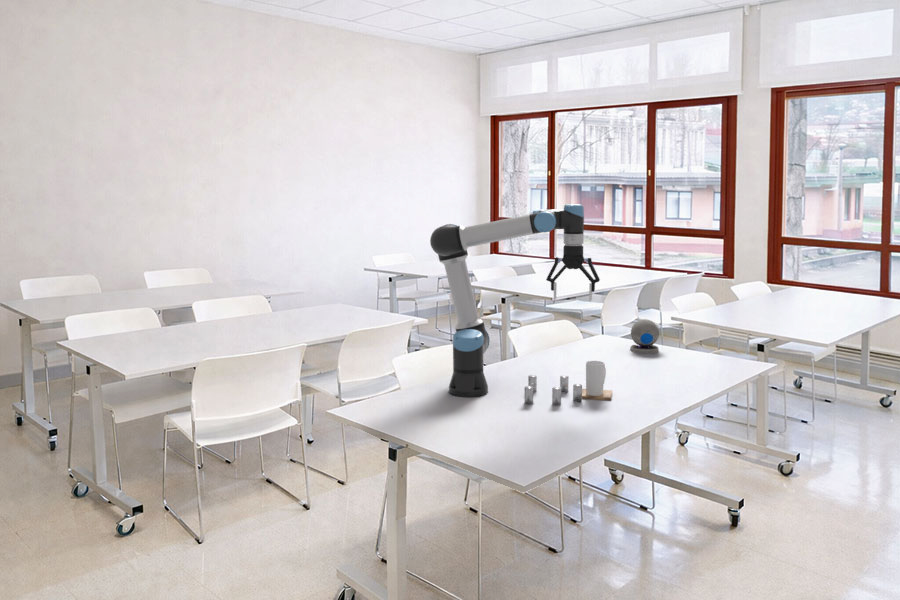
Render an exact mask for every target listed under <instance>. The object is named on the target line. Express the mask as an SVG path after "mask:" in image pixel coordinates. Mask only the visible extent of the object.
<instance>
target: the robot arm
mask: <svg viewBox="0 0 900 600" xmlns="http://www.w3.org/2000/svg"><path fill="white" fill-rule="evenodd" d="M584 211H585V208H584V205H583V204H580V203H579V204H578V203H571V204H570V203H569V204H568V203H566V204H564V205H563V209H542V208H541V209H535V210H533V211H532V213H529V214H525V215H519V216H514V217H510V218H505V219H500V220H495V221H494V220H493V221H489V222H484V223H480V224H474V225H470V226H465V227H464V226H463V225H456V224H453V223H452V224H451V223H448V224H444V225H441V226H439V227H437V228H435V229H434V231H433V232H432V233H431V236H430V240H429V241H430V247H431V249H432V250H433V252H435V254H437V256H438V261H439V262H440V263H441V264H442V265H444V269H445V273H446V277H447V282H448V286H449V291H450V295H451V298H452V299H451V300H452V302H453V308H454V312H455V316H456V320H457V324H456V326H455V332H454V334H453V337H452V365H453V367H452V376H451V378H450V382H449V385H448V392H450V393H451V394H450V393H449V394H450V395H452V394H453V396H456V395H458V396H457V397H462V396H467V397H466V398H471V397H480V396H485V395H486V394H487V393H488V392H489V385H488V382H487V379H486V376H485V373H484V354H485V353H486V351H487V350H488V349H489V346H490V336H489V333H488V331H487V330H486V327H485V323H484V320H482V319H481V318H480V317H479V313H478V309H477V304H476V300H475V296H474V292H473V287H472V283H471V279H470V274H469V270H468V266H467V261H466V259H467V257H468V256H469V252H468V249H469V248H471V247H476V246H480V245H486V244H490V243H496V242H501V241H505V240H511V239H515V238H522V237H525V236H531V235H536V234H541V233H550V232H551V231H553V230H563V244H564V245H563V255H562V257H559V256H556V257H555V259H554V264H553V265H552V267H551V269H550V271H549V273H548V274H547V277H546V281H547V282H549V283H550V290H551V291H552V292H553V300H557V288H558V287H557V285H558V284H557V279H558V278H559V277H560V276H561V275H562V274H563V272H564V271H565V270H566V268H567V269H568V270H578V269H579V270H580V271H581V272H582V273H583V275H585V277H587V279H588V280H589V282H590V283H588V285H589V292H588V293H589V294H588V296H589V297H588V300H589V302H590V301H591V302H592V301H593V300H592V299H593V297H592V296H593V292H595V290H596V283H598V282H600V280H601V279H600V277H599V275H598V273H597V271H596V268H595V267H594V265H593V263H592V262H593V260H592V257H590V256H589V257H587V258H585V257H584V245H583V244H584V237H585V236H584V232H585V231H584V227H585V225H584V223H585V212H584ZM561 262H562V263H563V264H564V265H563V266H562V267H561V269H560V270H559V271H558V272H557V273H556V274H555V276H553V275H554V273H555V271H556V269H557V267H558V264H560V263H561ZM584 262H586V264H588V267H589V269H590V270H591V271H590V272H592V275H593V276H592V275H591V274H590V273H589V272H588V271H587V269H586V268H585V267H584V265H583V263H584ZM552 276H553V278H552ZM593 277H594V278H593Z"/></svg>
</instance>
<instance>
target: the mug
mask: <svg viewBox="0 0 900 600" xmlns="http://www.w3.org/2000/svg"><path fill="white" fill-rule="evenodd" d="M605 364H606V363H605V362H604V361H600V360H588V361H586V362H585V389H586V394H587V395H590V396H601V395H603V390H604V384H605V380H606V374H607V373H606V372H607V370H606V366H605Z"/></svg>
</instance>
